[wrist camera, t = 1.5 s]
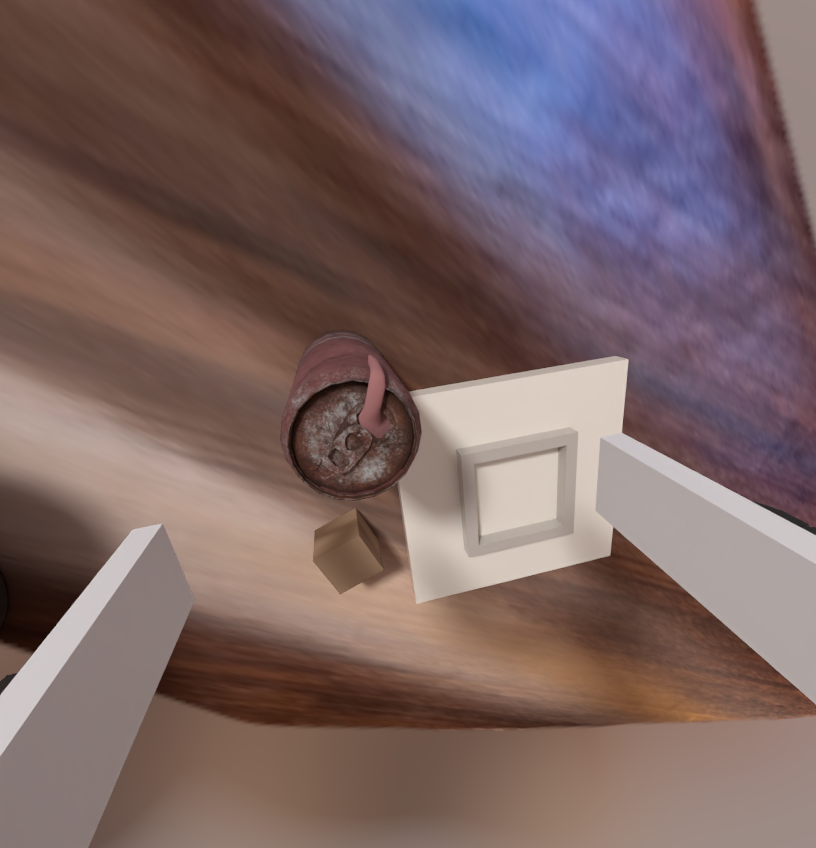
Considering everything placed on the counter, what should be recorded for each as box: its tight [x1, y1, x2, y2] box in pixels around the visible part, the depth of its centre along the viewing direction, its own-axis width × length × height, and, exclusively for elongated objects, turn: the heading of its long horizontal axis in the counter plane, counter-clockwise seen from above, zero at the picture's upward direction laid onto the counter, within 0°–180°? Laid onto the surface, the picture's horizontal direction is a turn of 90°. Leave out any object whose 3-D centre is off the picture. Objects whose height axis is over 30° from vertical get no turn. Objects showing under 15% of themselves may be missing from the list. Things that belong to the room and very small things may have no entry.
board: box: [397, 356, 628, 604], centre depth 34 cm, size 20×20×3 cm
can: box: [280, 330, 422, 500], centre depth 22 cm, size 6×6×14 cm
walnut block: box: [313, 508, 384, 594], centre depth 32 cm, size 4×4×4 cm
